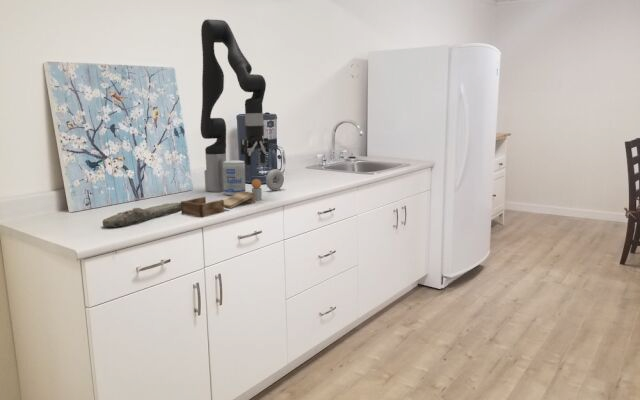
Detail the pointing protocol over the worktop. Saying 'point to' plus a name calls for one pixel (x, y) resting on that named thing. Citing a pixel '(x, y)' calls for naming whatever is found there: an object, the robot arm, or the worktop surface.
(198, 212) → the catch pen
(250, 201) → the ramp
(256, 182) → the ball
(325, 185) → the worktop surface
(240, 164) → the supplement tub
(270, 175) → the donut
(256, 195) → the hollow grey box
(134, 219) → the long grey stone
